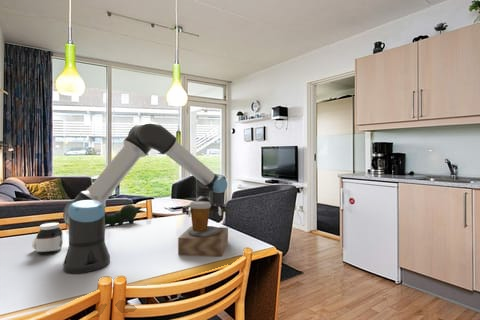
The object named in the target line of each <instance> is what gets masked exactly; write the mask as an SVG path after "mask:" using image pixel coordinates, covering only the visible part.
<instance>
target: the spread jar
mask: <svg viewBox="0 0 480 320" xmlns="http://www.w3.org/2000/svg"><path fill="white" fill-rule="evenodd" d="M63 237H64V235H63V230H62V228H61V227H60V223H59V222H45V223H42V224H40V225H39V231H38V233H37V234H36V237H35V238H34V239H33V241H32V244H31V247H32V249H34V250H36V252H37V254H39V255H41V256H45V255H46V256H47V255H53V254H56V253H58V252H60V251H61V250H62V247H63V242H64V241H63V239H64V238H63Z"/></svg>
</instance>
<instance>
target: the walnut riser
mask: <svg viewBox="0 0 480 320" xmlns="http://www.w3.org/2000/svg"><path fill="white" fill-rule="evenodd" d="M177 241H178V242H177V245H178V246H177V249H178V250H177V251H178V252H177V253H178V254H177V255H178V256H201V257H222V255H224V252H225V249H226V247H227V246H228V243H229V227H222V226H221V227H220V226H219V227H217V226H213V225H212V226H211V225H207V230H205V231H194V230H193V228H192V226H189V228H187V229H186V230H185V231H184V232H183V233H182V234H181V235H179V236H178V238H177Z"/></svg>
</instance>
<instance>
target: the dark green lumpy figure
mask: <svg viewBox="0 0 480 320" xmlns="http://www.w3.org/2000/svg"><path fill="white" fill-rule="evenodd" d="M108 199H109V200H112V197H111V195H110V196H109V198H108ZM142 208H143V207H142V206H134V205H133V204H125V205H124V206H122V207H121V209H120V210H119V211H116V212H114V213H111V214H108V213H107V212H106V211H105V226H107V224H109V225H111V226H112V227H114V226H116V224H117V223H119V225H123V224H124V221H126V222H127V221H128V223H129V224H132V223H134V222H135V218H136V217H137V214H138V211H140V210H141V209H142Z"/></svg>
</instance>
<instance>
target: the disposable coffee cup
mask: <svg viewBox="0 0 480 320" xmlns="http://www.w3.org/2000/svg"><path fill="white" fill-rule="evenodd" d="M189 204H190V208H191V215H190V218H191V227H192V228H193V230H194V231H205V230H207V226H209V218H210V212H211V211H210V207H211V204H212V203H211V204H210V202H207V201H196V200H195V201H191V202H190V203H189Z"/></svg>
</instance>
